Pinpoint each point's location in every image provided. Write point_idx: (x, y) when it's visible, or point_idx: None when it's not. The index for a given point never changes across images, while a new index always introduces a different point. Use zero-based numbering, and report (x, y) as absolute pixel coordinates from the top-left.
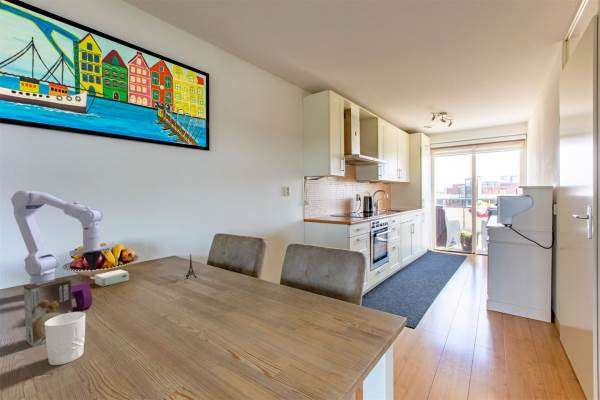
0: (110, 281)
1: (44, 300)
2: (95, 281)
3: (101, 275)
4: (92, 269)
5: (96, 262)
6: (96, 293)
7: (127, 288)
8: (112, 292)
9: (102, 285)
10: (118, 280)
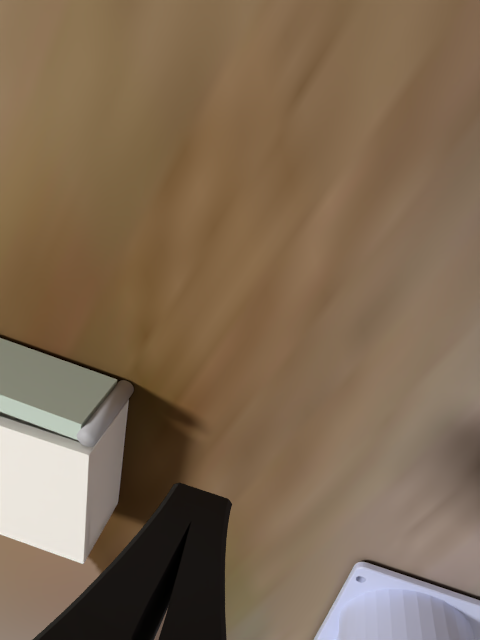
0: (60, 379)
1: None
2: (111, 508)
3: (60, 507)
4: (213, 502)
5: (96, 592)
6: (267, 276)
7: (40, 93)
8: (186, 133)
9: (129, 394)
10: (2, 353)
